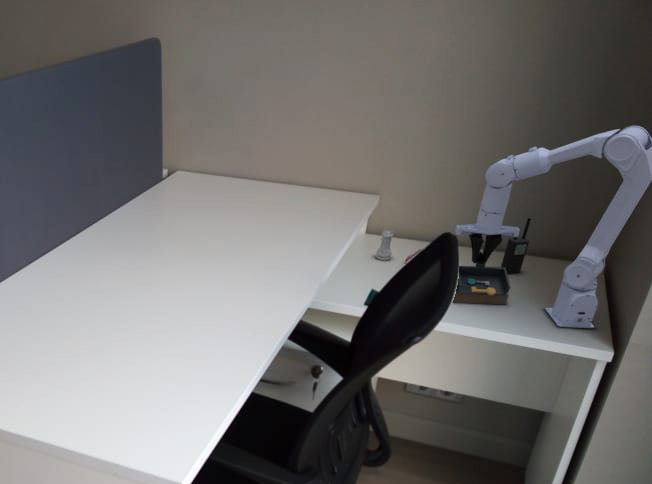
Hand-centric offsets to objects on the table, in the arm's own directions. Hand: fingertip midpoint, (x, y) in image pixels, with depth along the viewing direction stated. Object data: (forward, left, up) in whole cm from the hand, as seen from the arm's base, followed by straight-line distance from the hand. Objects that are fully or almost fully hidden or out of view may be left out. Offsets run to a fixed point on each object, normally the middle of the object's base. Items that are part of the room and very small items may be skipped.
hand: (478, 262), depth 185 cm
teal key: (-4, 0, -4) cm, 6 cm away
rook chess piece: (+21, +19, -8) cm, 29 cm away
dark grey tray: (-2, 0, -4) cm, 4 cm away
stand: (-4, 0, -8) cm, 9 cm away
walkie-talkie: (+15, -14, -8) cm, 22 cm away
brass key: (-7, 0, -5) cm, 9 cm away
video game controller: (+13, +11, -8) cm, 19 cm away
